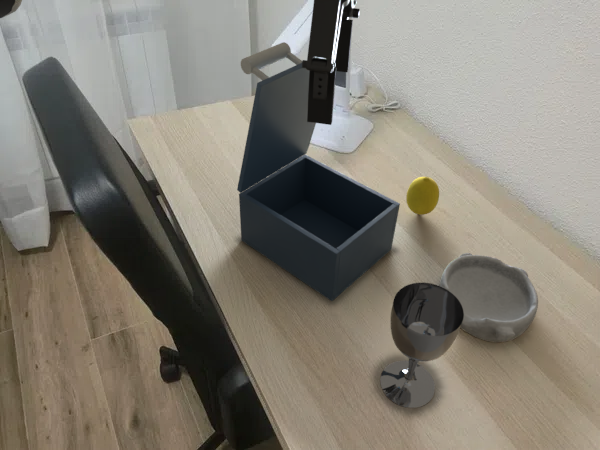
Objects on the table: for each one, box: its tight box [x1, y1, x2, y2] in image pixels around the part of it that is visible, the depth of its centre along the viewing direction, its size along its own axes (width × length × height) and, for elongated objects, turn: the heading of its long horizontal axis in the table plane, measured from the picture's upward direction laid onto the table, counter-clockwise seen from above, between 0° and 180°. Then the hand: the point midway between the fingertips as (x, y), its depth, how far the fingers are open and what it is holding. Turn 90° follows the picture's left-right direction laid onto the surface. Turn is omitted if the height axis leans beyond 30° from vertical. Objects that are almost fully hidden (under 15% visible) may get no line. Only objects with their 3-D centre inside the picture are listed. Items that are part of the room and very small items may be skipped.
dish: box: [439, 252, 539, 343], centre depth 81 cm, size 14×14×5 cm
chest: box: [238, 153, 401, 302], centre depth 89 cm, size 20×16×10 cm
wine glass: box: [379, 282, 464, 409], centre depth 67 cm, size 8×8×15 cm
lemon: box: [405, 176, 440, 216], centre depth 96 cm, size 6×6×8 cm
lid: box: [236, 42, 323, 194], centre depth 83 cm, size 20×16×8 cm
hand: (329, 94), depth 66 cm, fingers open, 13 cm apart
